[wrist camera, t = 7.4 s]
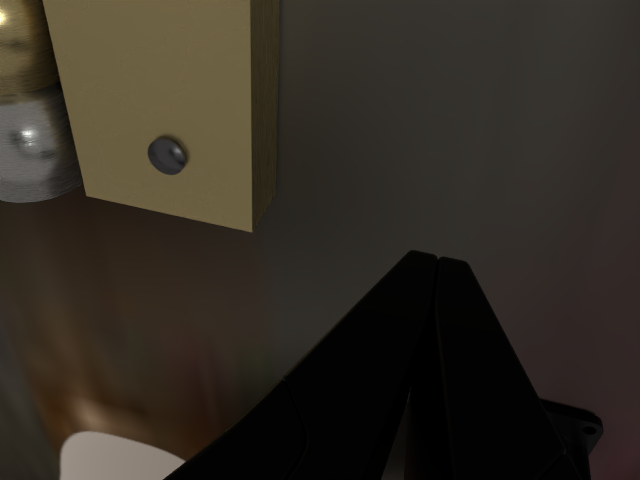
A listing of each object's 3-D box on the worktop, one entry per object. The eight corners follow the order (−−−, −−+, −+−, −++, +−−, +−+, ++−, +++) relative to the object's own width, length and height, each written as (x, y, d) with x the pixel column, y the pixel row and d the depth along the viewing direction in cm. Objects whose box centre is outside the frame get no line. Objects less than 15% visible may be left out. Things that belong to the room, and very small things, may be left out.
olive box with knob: (284, -193, 13) (225, -194, 11) (275, 193, 20) (238, 254, 17) (-77, -225, 15) (-209, -233, 12) (27, 142, 22) (-43, 190, 19)
